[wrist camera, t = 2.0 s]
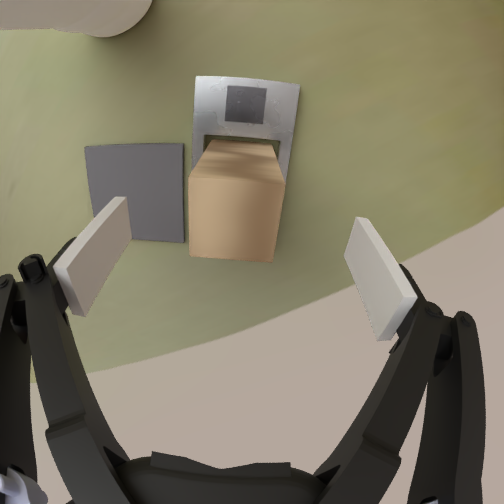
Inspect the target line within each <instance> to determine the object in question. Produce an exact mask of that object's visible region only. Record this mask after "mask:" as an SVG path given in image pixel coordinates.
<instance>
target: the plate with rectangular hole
mask: <svg viewBox="0 0 504 504" xmlns="http://www.w3.org/2000/svg"><path fill="white" fill-rule="evenodd" d="M299 89H300V85H299V84H292V83H286V82H278V81H271V80H262V79H251V78H238V77H219V76H196V85H195V99H194V117H193V140H192V171H193V169H194V167H195V166H196V164H197V162H198V161H199V159H200V158H201V156H202V154H203V153H204V151H205V140H206V135H224V136H239V137H251V138H261V139H271V140H279V145H278V152H277V161H278V164H279V167H280V170H281V172H282V175H283V178H284V181H285V184H286V177H287V171H288V165H289V158H290V152H291V145H292V138H293V132H294V125H295V118H296V111H297V104H298V97H299Z"/></svg>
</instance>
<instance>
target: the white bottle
mask: <svg viewBox="0 0 504 504" xmlns="http://www.w3.org/2000/svg"><path fill="white" fill-rule="evenodd" d="M151 3H152V0H0V30H12V29H50V28H53V29H55V30H58V31H63V32H70V33H83V34H86V35H90V36H95V37H111V36H115V35H118V34H120V33H123V32H125V31H126V30H128V29H130V28H131V27H133V26H134V25H135V24H136V23H137V22H139V21H140V20H141V19H142V17H143V16H144V15H145V14H146V12H147V11H148V9H149V7H150V5H151Z"/></svg>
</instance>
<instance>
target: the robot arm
mask: <svg viewBox="0 0 504 504" xmlns="http://www.w3.org/2000/svg"><path fill="white" fill-rule="evenodd" d="M131 239H132V234H131V228H130V220H129V213H128V204H127V197H114V198H113V199H112V200H111V201H110V202H109V203H108V204H107V205H106V206H105V207H104V208H103V209H102V210H101V212H100V213H99V214H98V215H97V216H96V217H95V218H94V219H93V220H92V221H91V222H90V223H89V224H88V225H87V227H86V228H85V229H84V230H83V231H82V232H81V233H80V234H79V236H78V237H74V238H72V239H71V240H69V241H68V242H67V243H66V244H65V245H64V246H63V247H62V250H60V251H59V252H58V254H56V256H55V257H54V258H53V259H52V260H51V262H50V263H49V264H48V265H47V267H46V265H45V263H44V260H43V257H42V255H40V254H33V255H29V256H28V257H26V258H24V259H23V260H22V261H21V262H20V264H19V266H18V270H19V272H20V274H21V277H22V279H23V282H15V279H14V277H13V275H11V274H5V275H2V276H1V277H0V504H47V502H48V498H47V495H46V494H45V492H44V491H42V490H41V488H40V487H39V485H38V484H37V466H36V458H35V451H34V444H33V435H32V424H31V410H30V409H31V408H30V365H31V355H32V361H33V366H34V371H35V376H36V381H37V385H38V389H39V393H40V396H41V401H42V404H43V407H44V411H45V414H46V417H47V421H48V424H49V428H48V429H47V430H46V431H45V436H46V439H47V443H48V445H49V448H50V451H51V453H52V456H53V458H54V461H55V463H56V466H57V468H58V470H59V472H60V475H61V477H62V479H63V481H64V483H65V485H66V487H67V489H68V491H69V493H70V495H71V497H72V500H71V501H69V502H68V503H66V504H379V502H380V500H381V499H382V497H383V495H384V494H385V492H386V491H387V489H388V487H389V485H390V484H391V482H392V480H393V478H394V476H395V474H396V473H397V470H398V469H399V467H400V464H401V458H400V456H399V451H400V449H401V447H402V445H403V442H404V440H405V438H406V436H407V434H408V432H409V429H410V427H411V425H412V422H413V420H414V417H415V415H416V412H417V409H418V407H419V404H420V402H421V399H422V396H423V394H424V391H425V388H426V385H427V397H426V407H425V415H424V423H423V430H422V436H421V442H420V447H419V453H418V457H417V462H416V466H415V471H414V475H413V479H412V482H411V486H410V491H409V495H408V501H407V504H483V501H482V487H481V486H482V485H481V477H482V470H483V460H484V449H485V429H486V427H485V426H486V424H485V423H486V416H485V415H486V411H485V410H486V409H485V389H484V388H485V387H484V375H483V366H482V358H481V351H480V345H479V338H478V333H477V328H476V323H475V321H474V319H473V318H472V316H471V315H469V314H468V313H466V312H464V311H458V312H457V313H456V315H455V316H454V318H451V317H448V316H444V315H443V312H442V310H441V309H440V308H439V307H438V306H437V305H436V304H434V303H432V302H429V301H426V299H425V297H424V296H423V294H422V293H421V291H420V289H419V287H418V286H417V284H416V282H415V281H414V279H412V276H411V274H410V273H409V271H408V270H407V269H406V268H405V267H404V266H403V265H402V264H398V263H397V262H396V260H395V258H394V257H393V255H392V254H391V252H390V251H389V249H388V248H387V246H386V245H385V243H384V242H383V240H382V239H381V237H380V236H379V234H378V233H377V231H376V230H375V228H374V227H373V225H372V224H371V223H370V221H369V220H368V218H362V217H356V218H355V222H354V225H353V228H352V231H351V235H350V238H349V241H348V244H347V247H346V250H345V253H344V258H345V260H346V262H347V265H348V267H349V270H350V272H351V274H352V277H353V279H354V282H355V284H356V286H357V289H358V291H359V294H360V296H361V299H362V302H363V304H364V307H365V309H366V312H367V314H368V317H369V320H370V322H371V325H372V328H373V331H374V333H375V336H376V339H377V341H384V340H385V341H386V340H391V339H392V337H393V336H394V334H395V333H396V332H397V334H398V336H399V339H398V340H397V342H396V343H395V344H394V346H393V347H392V349H391V350H390V352H389V353H390V356H389V358H388V360H387V362H386V364H385V367H384V368H383V371H382V372H381V374H380V376H379V378H378V380H377V382H376V384H375V386H374V388H373V389H372V391H371V393H370V395H369V397H368V399H367V400H366V402H365V404H364V405H363V407H362V409H361V410H360V412H359V414H358V415H357V417H356V419H355V420H354V422H353V423H352V425H351V426H350V428H349V429H348V431H347V433H346V434H345V435H344V437H343V438H342V440H341V441H340V443H339V444H338V446H337V447H336V448H335V450H334V451H333V453H332V454H331V455H330V457H329V458H328V459H327V460H326V461H325V462H324V463H323V464H322V465H321V466H320V467H319V468H318V469H317V470H316V471H315V473H314V474H313V475H311V474H309V473H307V472H305V471H302V470H299V469H296V468H291V467H290V462H284V463H254V464H249V465H243V466H238V467H233V468H226V469H218V468H214V467H211V466H208V465H205V464H202V463H200V462H197V461H194V460H191V459H188V458H186V457H181V456H175V455H169V454H164V453H158V452H153V451H152V455H151V457H141V458H137V459H133V460H130V459H129V457H128V456H127V454H126V453H125V451H124V450H123V448H122V447H121V446H120V445H119V443H118V442H117V441H116V439H115V437H114V435H113V433H112V431H111V430H110V428H109V426H108V424H107V422H106V420H105V418H104V416H103V413H102V411H101V409H100V407H99V405H98V403H97V400H96V398H95V396H94V393H93V391H92V388H91V386H90V383H89V381H88V378H87V376H86V373H85V370H84V368H83V365H82V362H81V359H80V356H79V353H78V350H77V347H76V344H75V341H74V338H73V334H72V331H71V328H70V324H69V320H68V316H67V314H66V312H65V310H66V308H67V307H68V305H69V307H70V310H71V312H72V314H74V315H79V316H83V317H86V315H87V313H88V311H89V309H90V308H91V306H92V304H93V302H94V300H95V298H96V297H97V295H98V293H99V291H100V289H101V288H102V286H103V284H104V282H105V281H106V279H107V277H108V276H109V274H110V272H111V270H112V269H113V267H114V266H115V264H116V262H117V261H118V259H119V257H120V256H121V254H122V253H123V251H124V249H125V248H126V246H127V245H128V243H129V242H130V240H131ZM427 382H428V384H427Z"/></svg>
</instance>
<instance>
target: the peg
mask: <svg viewBox="0 0 504 504" xmlns="http://www.w3.org/2000/svg"><path fill="white" fill-rule="evenodd" d="M285 186H286V184H285V181H284V178H283V175H282V172H281V170H280V167H279V164H278V161H277V158H276V155H275V152H274V149H273V146H272V144H271V143H261V142H251V141H239V140H224V139H212V141H211V142H210V144H209V145H208V147H207V148H206V150H205V151H204V153H203V154H202V156H201V158H200V159H199V161H198V162H197V164H196V166H195V167H194V169H193V171H192V172H191V174H190V176H189V177H188V206H189V249H190V256H193V257H206V258H219V259H232V260H245V261H258V262H273V257H274V251H275V245H276V239H277V234H278V228H279V222H280V216H281V210H282V204H283V198H284V192H285Z"/></svg>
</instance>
